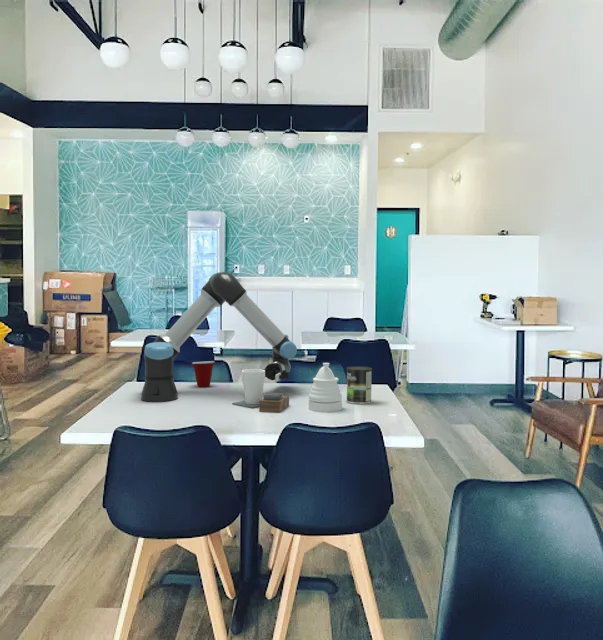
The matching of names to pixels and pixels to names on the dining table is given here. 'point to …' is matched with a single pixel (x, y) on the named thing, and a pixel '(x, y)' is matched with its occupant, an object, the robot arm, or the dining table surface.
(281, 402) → the walnut block
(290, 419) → the dining table surface
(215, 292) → the robot arm
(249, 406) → the coaster
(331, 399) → the honey pot
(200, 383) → the plastic cup
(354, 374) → the coffee can
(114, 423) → the dining table surface
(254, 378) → the foam cup
